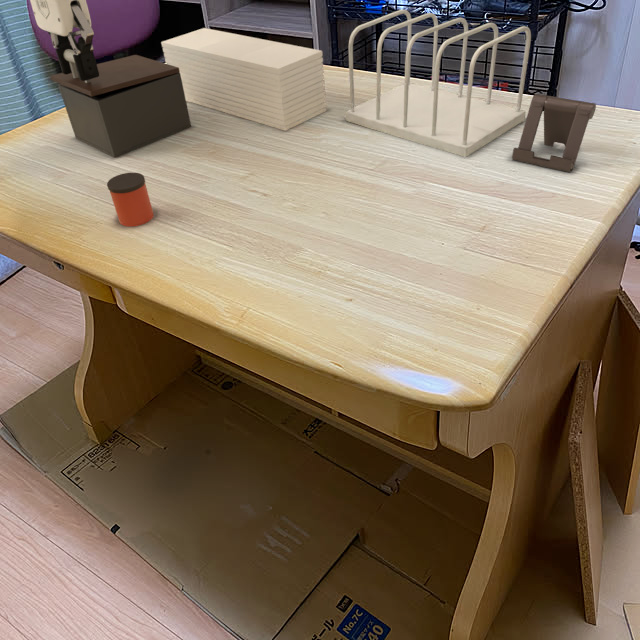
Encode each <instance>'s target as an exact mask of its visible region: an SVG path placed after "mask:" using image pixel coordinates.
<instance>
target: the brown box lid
mask: <svg viewBox="0 0 640 640" xmlns="http://www.w3.org/2000/svg"><path fill="white" fill-rule="evenodd" d="M74 54H75V53H74V51H73V50H70V49H67V50H65V51H64V58H65V59H66V60H67V61H69V64H70V67H71V71H72V73H70V74H63V72H60V73H59V72H58V73H56V74H51V75H50V80H51V81H53V82H55V83H57V84H62V85H64V86H67V87H69V88H72V89H74V90H77V91H79V92H82V93H84V94H87V95H89V96H96V95H99V94H103V93H106V92H110V91H114V90H117V89H121V88H125V87H128V86H132V85H135V84H139V83H143V82H146V81H150V80H154V79H157V78H161V77H164V76H168V75H172V74H175V73H179V72H180V71H179V68H178V67H175V66H172V65H168V64H167V63H166V62H162V61H158V60H155V59H152V58H149V57H148V58H147V57H144V56H141V55H138V54H133V55H129V56H125V57H121V58H117V59H112V60H109V61H104V62H100V63H96V64H97V68H98V71H99V76H98V77H96V78H93V79H89V80H86V81H81V80H80V78H79V75H78V71H77V69H76V65H75V61H74V58H73V55H74Z"/></svg>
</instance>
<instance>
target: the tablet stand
mask: <svg viewBox="0 0 640 640" xmlns="http://www.w3.org/2000/svg"><path fill="white" fill-rule="evenodd" d="M596 108H597V104H596V103H594V102H590V101H589V102H588V101H582V100H576V99H571V98H564V97H558V96H552V95H545V94H539V93H535V94H534V95H532V98H531V101H530V104H529V108H528V112H527V115H526V117H525V122H524V126H523V129H522V133H521V135H520V140H519V144H518V147H513V150H512V155H511V160H512V161H516V162H519V163H520V162H521V163H525V164H530V165H533V166H534V165H535V166H539V167H542V168H548V169H550V170H551V169H552V170H556V171H560V172H564V173H565V172H566V173H571V172H572V171H573V170H574V168H575V164H576V161H577V159H578V155H579V153H580V149H581V146H582V142H583V139H584V137H585V133H586V130H587V127H588V124H589V121H590V120H592V119H593V117H594V115H595V112H596ZM542 114H543V145H544V146H549V147H554V145H555V143H557V144H562V145H564V151H563V153H562V157H561V156H558V155H552V154H551V155H550V158H545V157H540V156H535V151H534V150H533V149H532V148H533V145H534V142H535V138H536V135H537V132H538V127H539V124H540V121H541V118H542Z"/></svg>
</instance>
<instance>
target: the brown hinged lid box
mask: <svg viewBox="0 0 640 640" xmlns="http://www.w3.org/2000/svg"><path fill="white" fill-rule="evenodd" d="M57 86H58V90H59V92H60V95H61V98H62V102H63V104H64V108H65V110H66V114H67V116H68V119H69V122H70V125H71V128H72V132H73V135H74V137H75V139H76V140H78V141H80V142H82V143H84V144H86V145H88V146H90V147H92V148H94V149H96V150H98V151H100V152H102V153H104V154H106V155H108V156H109V157H112V158H114V159H116V158H119V157H121V156H124V155H127V154H130V153H131V152H133V151H136V150H139V149H141V148H143V147H147V146H148V145H149V146H150V145H151V144H153V143H157V142H158V141H160V140H163V139H166V138H168V137H171V136H174V135H176V134H178V133H181V132H183V131H185V130H187V129H190V128H192V122H191V118H190V113H189V109H188V104H187V101H186V99H185V94H184V89H183V84H182V80H181V75H180V73H175V74H172V75H168V76H164V77H161V78H157V79H154V80H150V81H146V82H143V83H139V84H135V85H132V86H128V87H125V88H121V89H117V90H114V91H110V92H106V93H103V94H99V95H96V96H89V95H87V94H84V93H82V92H79V91H77V90H74V89H72V88H69V87H67V86H64V85H62V84H60V83H58V84H57Z"/></svg>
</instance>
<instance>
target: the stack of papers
mask: <svg viewBox="0 0 640 640" xmlns="http://www.w3.org/2000/svg"><path fill="white" fill-rule="evenodd" d="M160 44H161V48H162V52H163V57H164V63H165V64H168V65H172V66H175V67H178V68H179V71H180V72H179V73H180V75H181V80H182V84H183V89H184V94H185V99H186V102H189V103H193V104H196V105H200V106H201V107H206V108H209V109H212V110H216V111H219V112H223V113H226V114H229V115H232V116H235V117H239V118H242V119H246V120H249V121H252V122H256V123H259V124H262V125H265V126H269V127H271V128H275V129H279V130H283V131H285V132H286V131H288V130H290V129H292V128H294V127H296V126H298V125H300V124H303V123H304V122H306V121H308V120H310V119H312V118H315V117H316V116H319V115H321V114H323V113H325V112H327V107H326V106H327V102H326V101H327V100H326V91H325V90H326V86H325V80H324V79H325V74H324V73H325V72H324V63H323V62H324V58H323V56H324V55H323V50H320V49H315V48H310V47H304V46H300V45H299V46H298V45H294V44H290V43H283V42H279V41H273V40H270V39H269V40H268V39H262V38H259V37H253V36H247V35H243V34H237V33H232V32H228V31H222V30H217V29H211V28H205V27H202V28H200V29H197V30H194V31H191V32H188V33H185V34H181V35H178V36H175V37H173V38H169V39H166V40H162V41H161V42H160Z"/></svg>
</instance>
